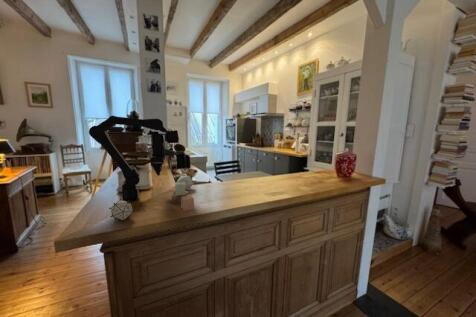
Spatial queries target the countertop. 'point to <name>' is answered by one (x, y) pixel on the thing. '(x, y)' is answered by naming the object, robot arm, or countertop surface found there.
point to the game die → (121, 210)
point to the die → (186, 181)
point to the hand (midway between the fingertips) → (159, 173)
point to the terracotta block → (187, 202)
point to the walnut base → (177, 197)
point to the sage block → (180, 188)
